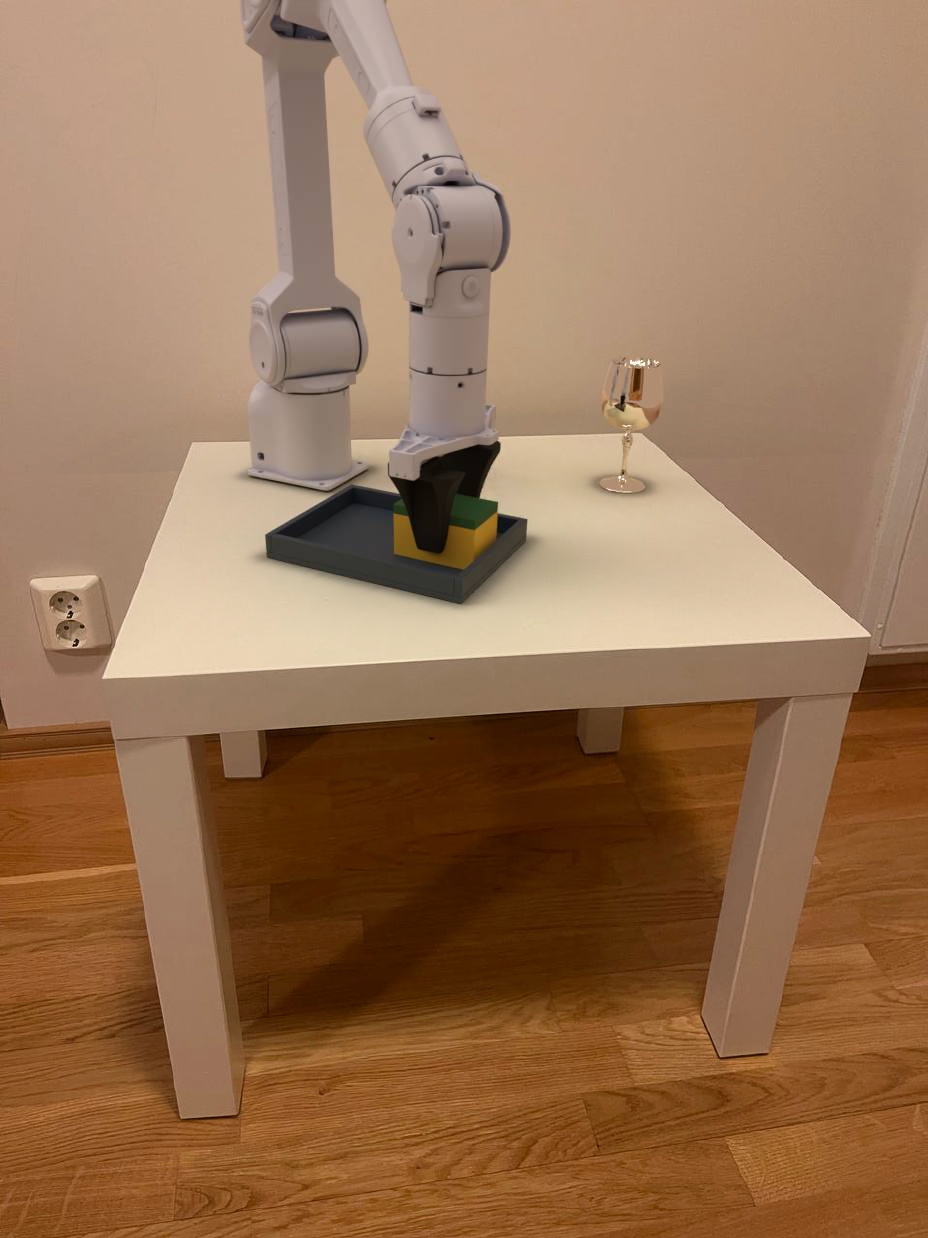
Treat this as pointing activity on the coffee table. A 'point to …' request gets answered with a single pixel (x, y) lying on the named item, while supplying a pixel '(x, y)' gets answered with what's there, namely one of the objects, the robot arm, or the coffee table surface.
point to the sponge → (452, 532)
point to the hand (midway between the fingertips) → (444, 538)
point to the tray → (381, 545)
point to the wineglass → (631, 407)
